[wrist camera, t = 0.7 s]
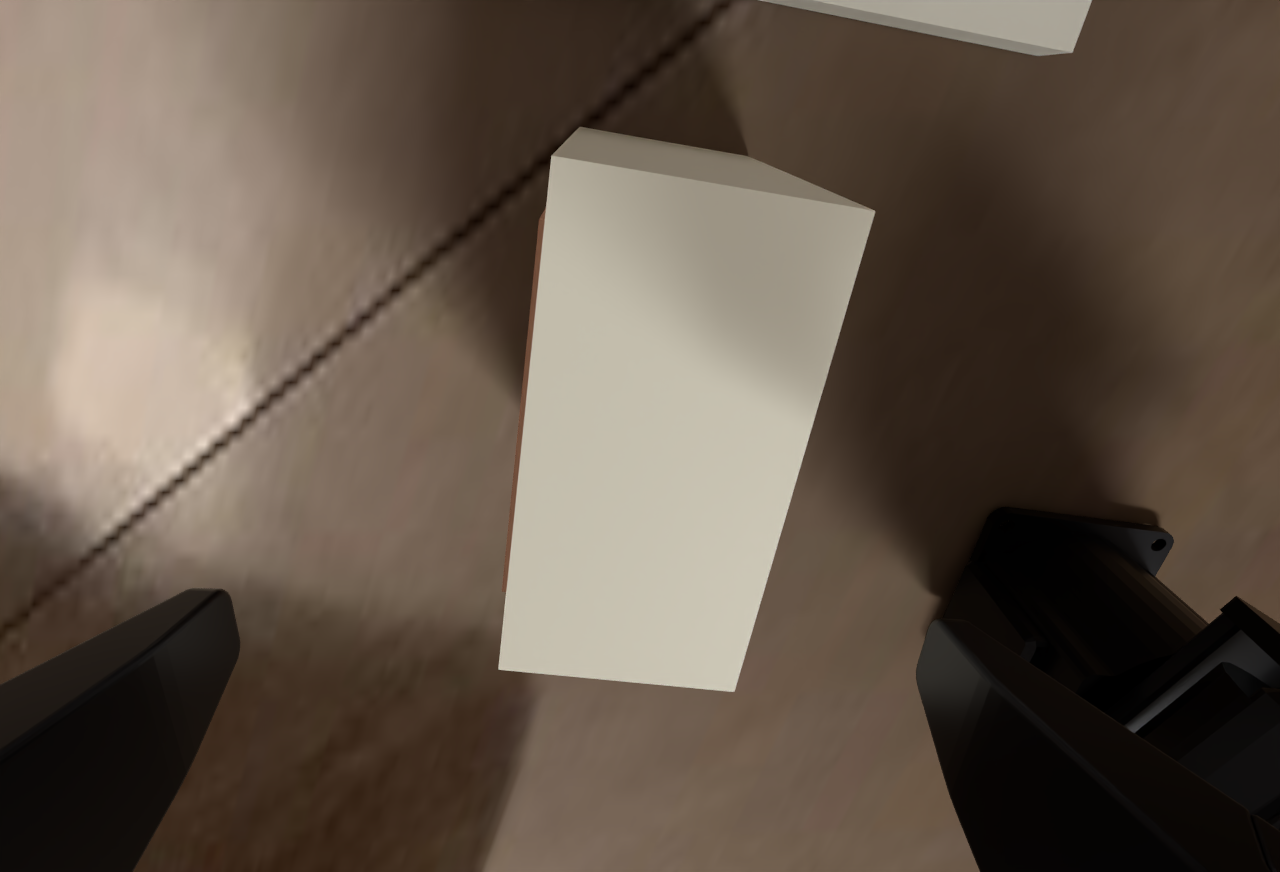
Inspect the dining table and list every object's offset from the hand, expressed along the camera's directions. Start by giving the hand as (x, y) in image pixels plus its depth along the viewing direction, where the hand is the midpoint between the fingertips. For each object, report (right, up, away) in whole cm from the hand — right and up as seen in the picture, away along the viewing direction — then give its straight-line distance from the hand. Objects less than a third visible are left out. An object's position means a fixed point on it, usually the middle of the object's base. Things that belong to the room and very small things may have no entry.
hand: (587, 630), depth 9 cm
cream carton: (+1, +6, +11) cm, 13 cm away
